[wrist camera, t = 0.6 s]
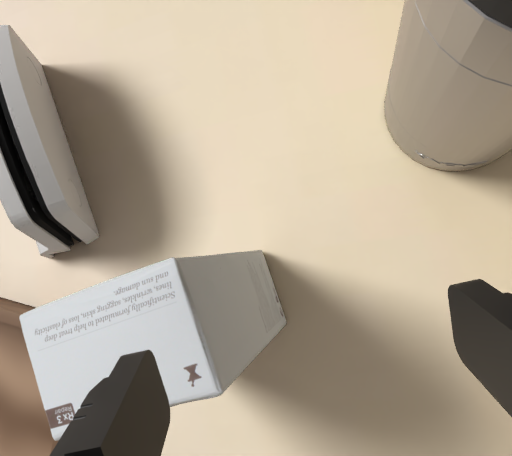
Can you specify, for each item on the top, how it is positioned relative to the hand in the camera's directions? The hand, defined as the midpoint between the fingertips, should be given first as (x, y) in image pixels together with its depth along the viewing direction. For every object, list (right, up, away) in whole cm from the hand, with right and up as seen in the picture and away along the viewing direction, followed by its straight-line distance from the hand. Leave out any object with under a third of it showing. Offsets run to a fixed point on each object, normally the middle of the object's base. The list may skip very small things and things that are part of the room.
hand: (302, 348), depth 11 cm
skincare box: (-4, -3, +20) cm, 21 cm away
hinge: (-18, +9, +24) cm, 32 cm away
